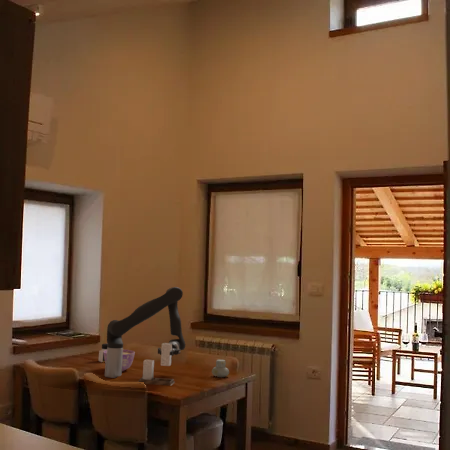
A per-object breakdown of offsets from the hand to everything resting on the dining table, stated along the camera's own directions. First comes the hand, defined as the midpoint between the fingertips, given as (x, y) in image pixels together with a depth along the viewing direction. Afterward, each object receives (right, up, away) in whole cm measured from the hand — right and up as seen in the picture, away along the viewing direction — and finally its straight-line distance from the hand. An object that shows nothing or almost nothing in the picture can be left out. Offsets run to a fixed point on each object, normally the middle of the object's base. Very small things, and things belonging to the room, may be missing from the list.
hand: (165, 353), depth 314 cm
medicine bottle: (-48, -21, +64) cm, 83 cm away
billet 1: (-11, -17, +2) cm, 20 cm away
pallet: (-6, -18, +2) cm, 19 cm away
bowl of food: (-34, -19, +36) cm, 53 cm away
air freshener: (+31, -22, +32) cm, 50 cm away
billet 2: (0, -7, +2) cm, 7 cm away
